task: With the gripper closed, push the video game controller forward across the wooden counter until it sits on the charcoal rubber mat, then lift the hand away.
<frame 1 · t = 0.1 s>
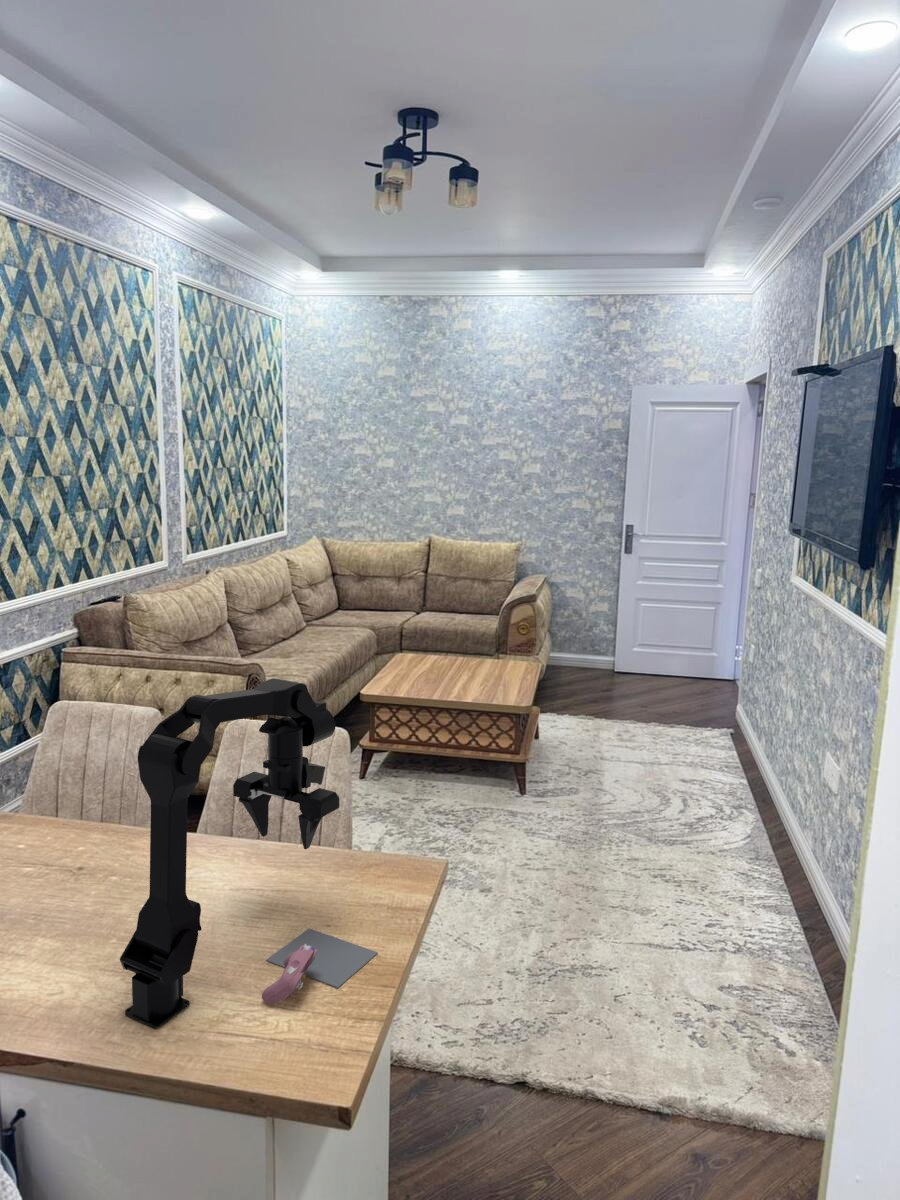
hand: (285, 841, 144), 15 cm above the counter, tool pointing down, fingers open, 9 cm apart
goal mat: (322, 957, 136), on the counter
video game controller: (291, 988, 127), on the counter, touching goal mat
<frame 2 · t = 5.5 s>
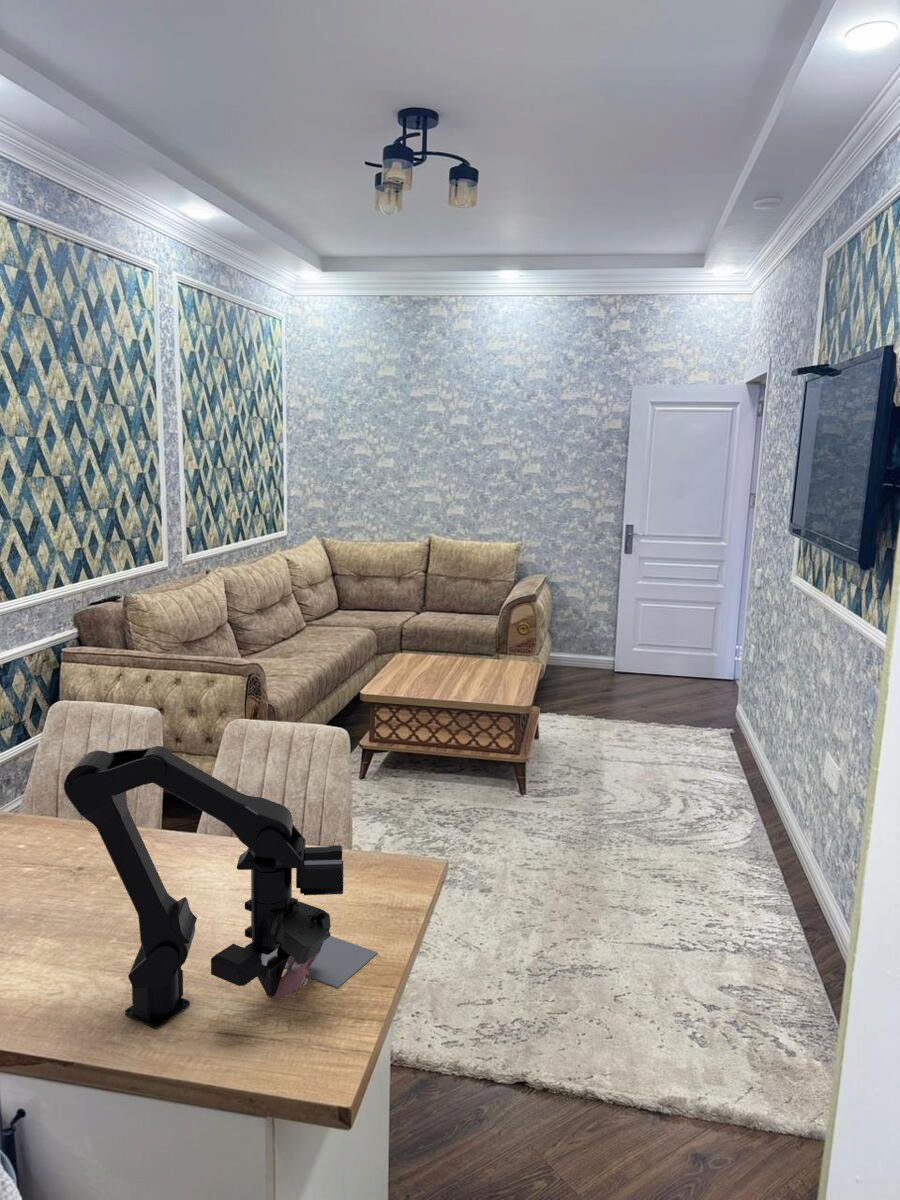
hand: (271, 995, 123), 2 cm above the counter, tool pointing down, fingers closed
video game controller: (295, 984, 128), on the counter, touching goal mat, gripper
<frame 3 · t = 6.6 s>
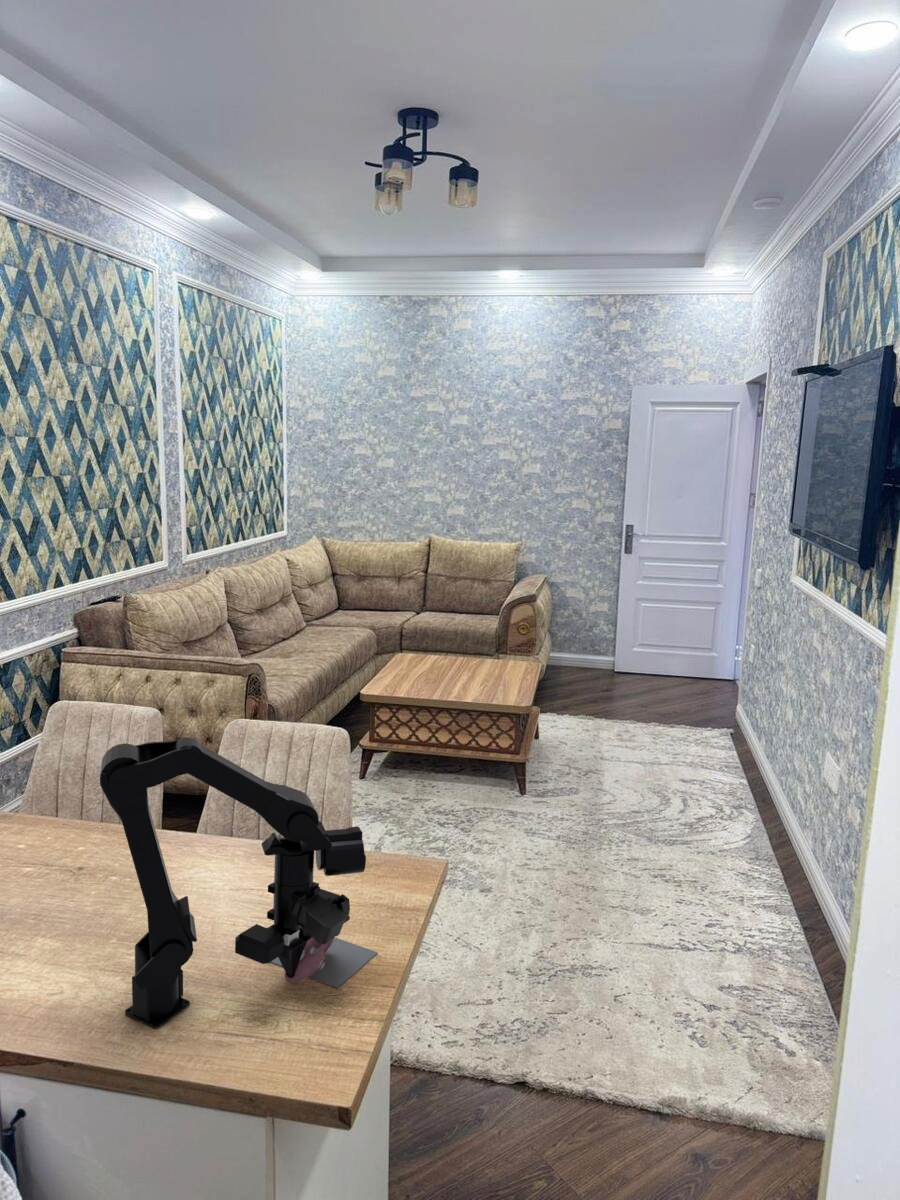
hand: (290, 976, 127), 2 cm above the counter, tool pointing down, fingers closed
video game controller: (311, 969, 132), on the counter, touching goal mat, gripper
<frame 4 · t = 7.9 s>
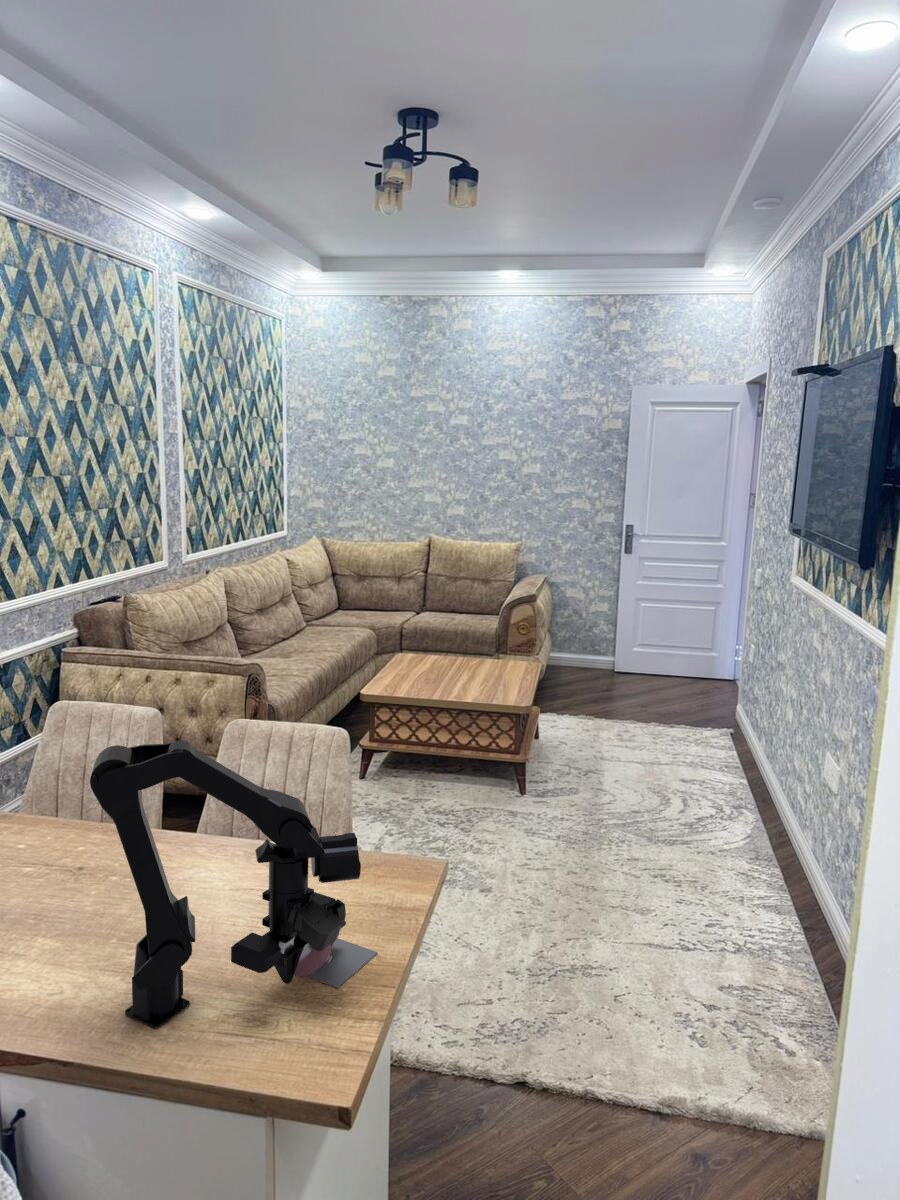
hand: (287, 982, 127), 1 cm above the counter, tool pointing down, fingers closed
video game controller: (318, 963, 134), resting on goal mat
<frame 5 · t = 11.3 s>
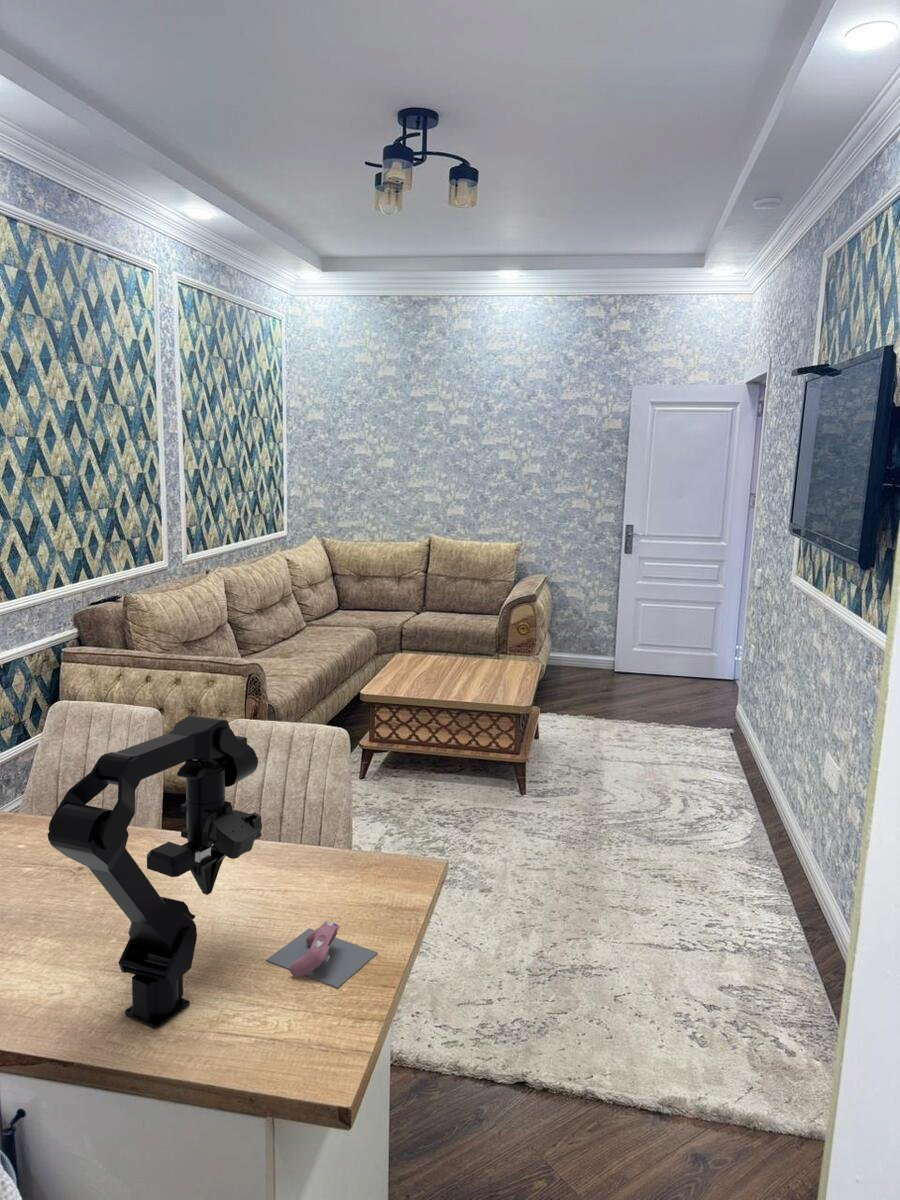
hand: (207, 893, 131), 12 cm above the counter, tool pointing down, fingers closed
nothing on the counter moved.
at the end: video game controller inside the target area on the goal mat (1.9 cm from its centre), point 0.0 cm above the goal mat's base; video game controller moved 7.2 cm from its start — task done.
